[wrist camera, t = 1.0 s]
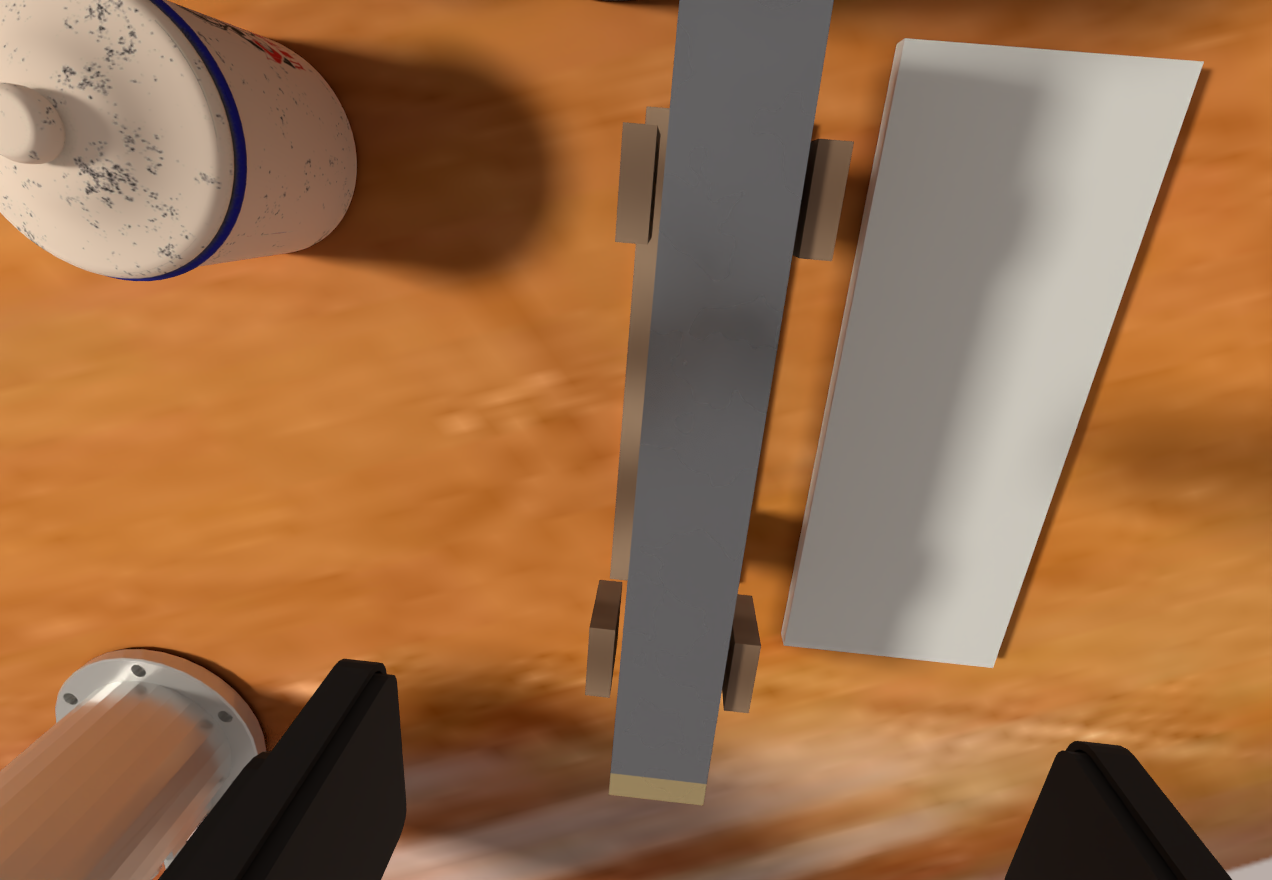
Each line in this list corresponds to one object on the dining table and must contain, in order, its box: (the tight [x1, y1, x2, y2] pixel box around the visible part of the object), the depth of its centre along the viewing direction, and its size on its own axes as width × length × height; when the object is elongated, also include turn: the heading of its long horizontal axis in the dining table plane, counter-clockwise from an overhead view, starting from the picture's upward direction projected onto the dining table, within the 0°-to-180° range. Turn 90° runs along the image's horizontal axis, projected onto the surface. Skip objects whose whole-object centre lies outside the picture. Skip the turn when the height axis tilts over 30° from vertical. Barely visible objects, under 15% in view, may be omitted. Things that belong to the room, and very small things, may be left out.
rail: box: [609, 0, 834, 806], centre depth 21 cm, size 27×4×4 cm, turn 175°
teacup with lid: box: [0, 0, 357, 281], centre depth 23 cm, size 12×9×12 cm
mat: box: [781, 38, 1204, 668], centre depth 30 cm, size 28×11×1 cm, turn 175°
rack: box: [585, 107, 854, 713], centre depth 25 cm, size 22×6×11 cm, turn 175°
